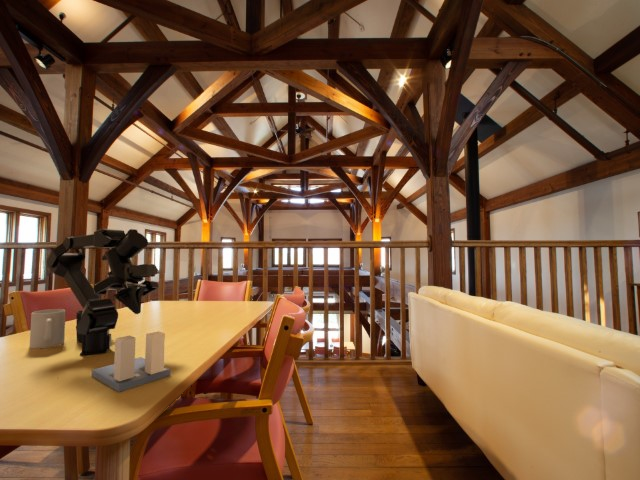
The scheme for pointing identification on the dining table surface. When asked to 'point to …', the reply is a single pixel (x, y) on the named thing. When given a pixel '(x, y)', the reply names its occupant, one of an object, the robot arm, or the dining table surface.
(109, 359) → the dining table surface
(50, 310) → the mug
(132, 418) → the dining table surface
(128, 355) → the tab
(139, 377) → the grey base plate
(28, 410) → the dining table surface
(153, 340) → the tab
